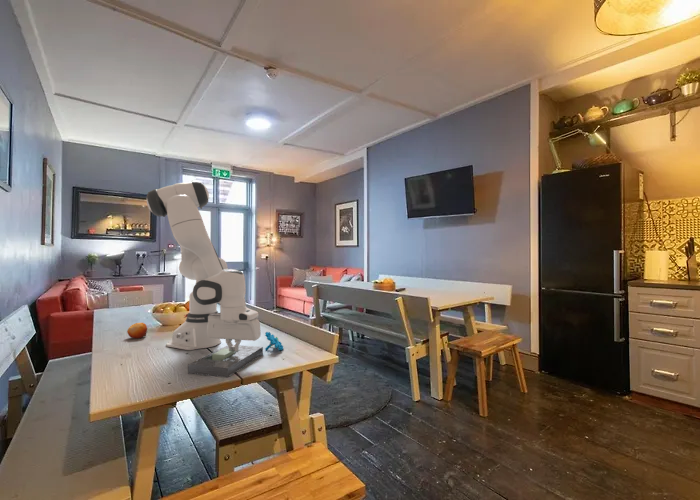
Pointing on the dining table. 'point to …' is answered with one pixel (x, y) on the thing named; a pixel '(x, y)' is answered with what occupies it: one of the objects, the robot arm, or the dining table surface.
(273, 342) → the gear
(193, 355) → the dining table surface
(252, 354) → the pocket plate
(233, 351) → the block
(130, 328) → the fruit
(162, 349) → the dining table surface
